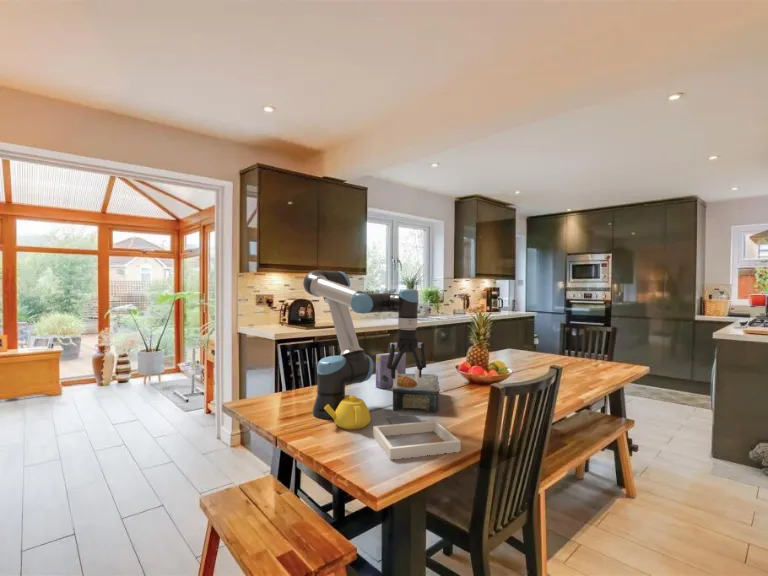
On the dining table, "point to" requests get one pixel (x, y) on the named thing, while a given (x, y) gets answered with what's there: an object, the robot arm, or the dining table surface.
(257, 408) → the dining table surface
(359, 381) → the robot arm
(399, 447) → the white shallow tray
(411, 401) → the metal box
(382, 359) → the cake pan box
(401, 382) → the pastry
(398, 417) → the mat
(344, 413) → the teapot
